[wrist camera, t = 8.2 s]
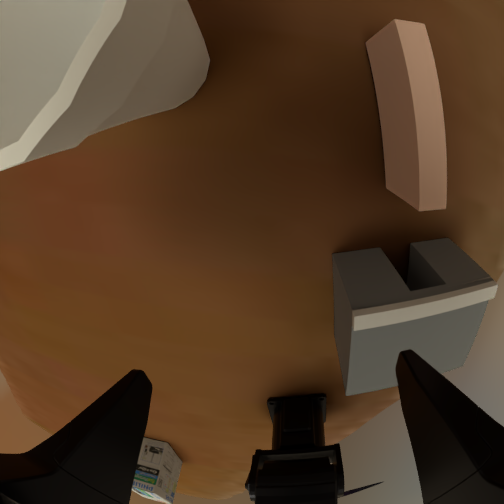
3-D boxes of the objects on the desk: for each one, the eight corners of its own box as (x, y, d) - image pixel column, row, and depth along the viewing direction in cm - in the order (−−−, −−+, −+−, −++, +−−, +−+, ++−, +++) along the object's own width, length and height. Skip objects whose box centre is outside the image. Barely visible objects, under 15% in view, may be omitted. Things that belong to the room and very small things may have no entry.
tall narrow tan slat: (408, 186, 16) (446, 208, 12) (385, 188, 17) (419, 211, 12) (390, 44, 12) (424, 24, 8) (365, 42, 12) (394, 19, 8)
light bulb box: (134, 433, 38) (117, 481, 28) (168, 441, 37) (153, 493, 27) (153, 455, 42) (140, 497, 33) (184, 462, 42) (173, 505, 32)
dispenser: (433, 316, 21) (465, 370, 15) (334, 335, 23) (346, 401, 16) (448, 237, 18) (498, 284, 11) (332, 253, 19) (354, 316, 13)
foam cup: (217, 141, 17) (95, 189, 5) (98, 130, 17) (-55, 171, 5) (246, 10, 12) (195, -124, 1) (121, 14, 12) (-9, -35, 1)
